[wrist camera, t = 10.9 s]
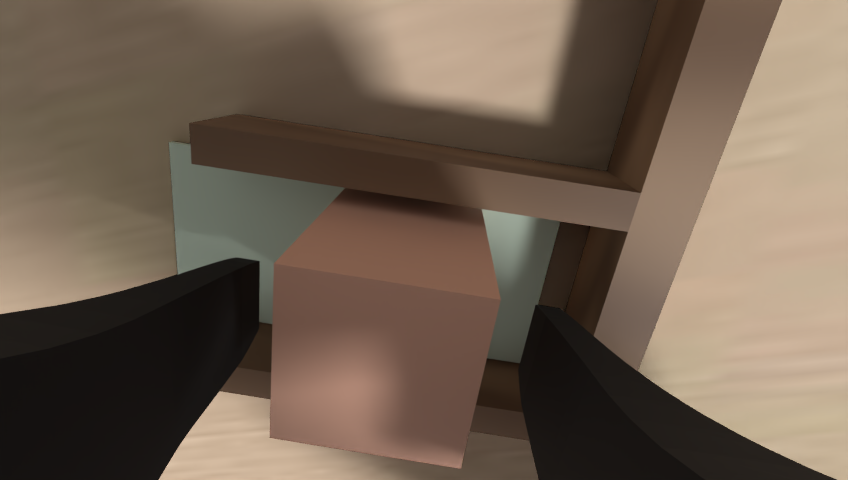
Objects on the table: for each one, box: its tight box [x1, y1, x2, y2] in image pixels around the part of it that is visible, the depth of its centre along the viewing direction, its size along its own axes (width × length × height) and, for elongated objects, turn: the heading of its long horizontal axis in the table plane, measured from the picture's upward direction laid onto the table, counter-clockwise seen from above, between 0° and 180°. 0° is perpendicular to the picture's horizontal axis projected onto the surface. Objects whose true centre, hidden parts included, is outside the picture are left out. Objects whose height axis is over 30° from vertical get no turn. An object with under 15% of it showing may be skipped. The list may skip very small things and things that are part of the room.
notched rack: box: [169, 0, 782, 440], centre depth 11 cm, size 22×14×2 cm, turn 172°
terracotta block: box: [270, 188, 501, 469], centre depth 11 cm, size 4×4×6 cm
